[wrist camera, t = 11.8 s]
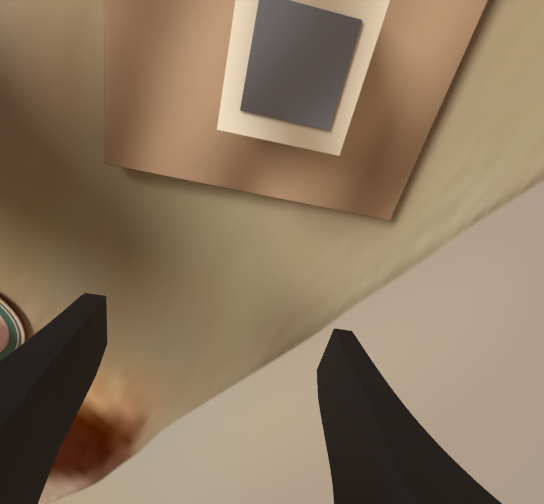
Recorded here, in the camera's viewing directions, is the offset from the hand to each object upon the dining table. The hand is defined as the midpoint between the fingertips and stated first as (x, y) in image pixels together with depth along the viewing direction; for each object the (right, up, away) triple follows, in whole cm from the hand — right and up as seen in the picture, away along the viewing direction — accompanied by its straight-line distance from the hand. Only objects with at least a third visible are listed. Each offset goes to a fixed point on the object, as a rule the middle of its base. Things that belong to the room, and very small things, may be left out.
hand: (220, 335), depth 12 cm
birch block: (+2, +11, +3) cm, 11 cm away
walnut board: (+2, +11, +4) cm, 12 cm away
